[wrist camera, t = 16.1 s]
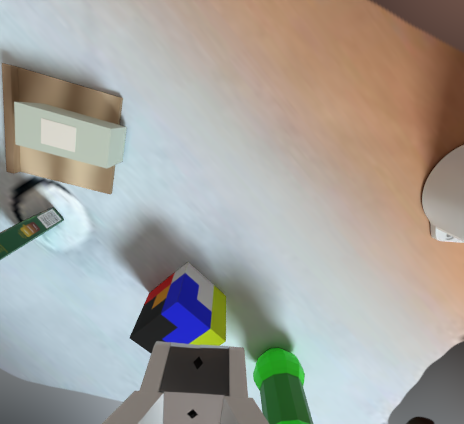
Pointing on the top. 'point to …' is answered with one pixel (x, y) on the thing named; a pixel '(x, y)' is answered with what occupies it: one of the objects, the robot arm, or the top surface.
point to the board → (66, 97)
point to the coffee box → (27, 231)
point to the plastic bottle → (282, 388)
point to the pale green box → (69, 134)
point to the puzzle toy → (182, 312)
